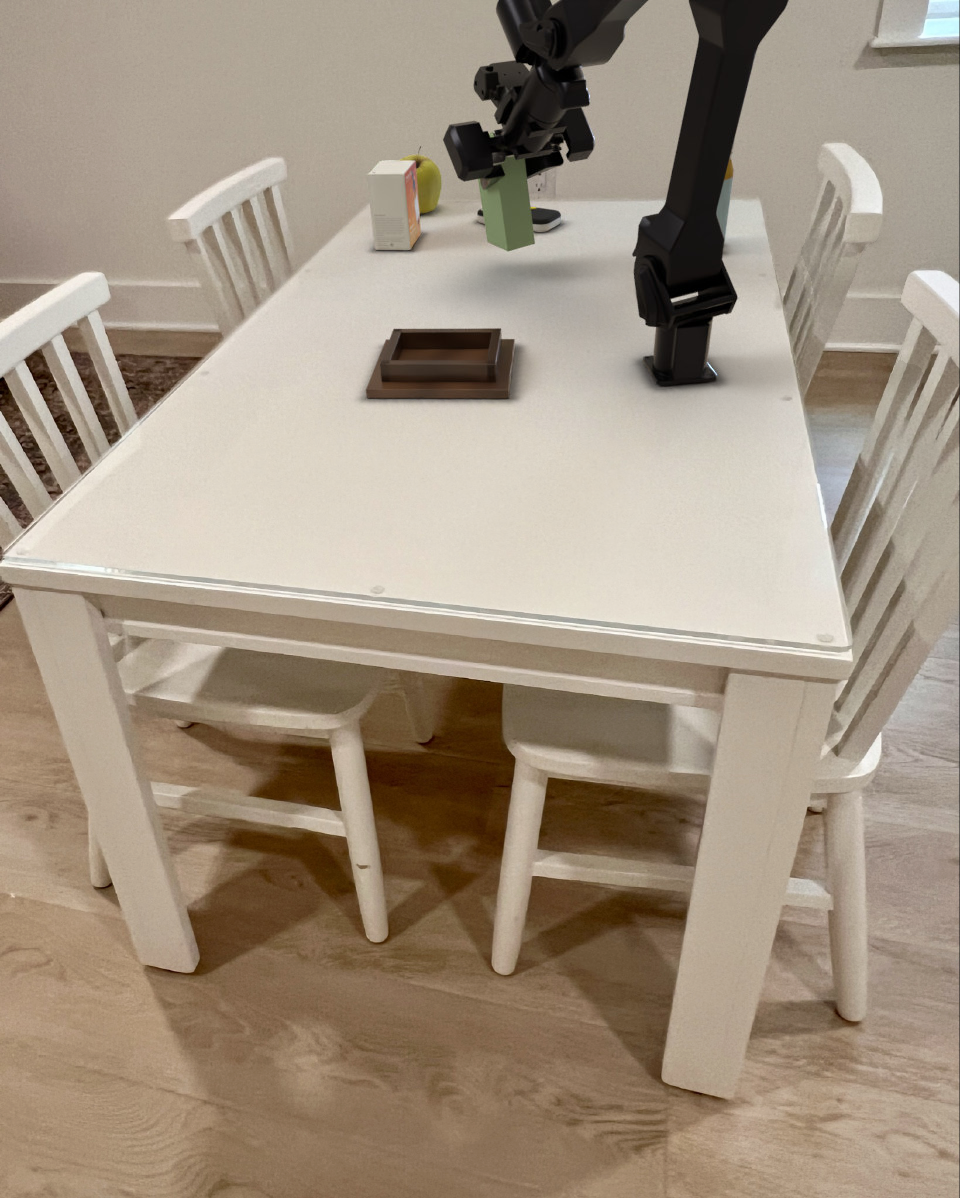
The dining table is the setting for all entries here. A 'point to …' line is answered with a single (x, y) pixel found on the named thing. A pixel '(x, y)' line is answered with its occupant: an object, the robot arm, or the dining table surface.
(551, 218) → the remote control
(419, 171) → the apple
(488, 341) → the mount dock
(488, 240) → the green rectangular block
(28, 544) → the dining table surface
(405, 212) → the small box
